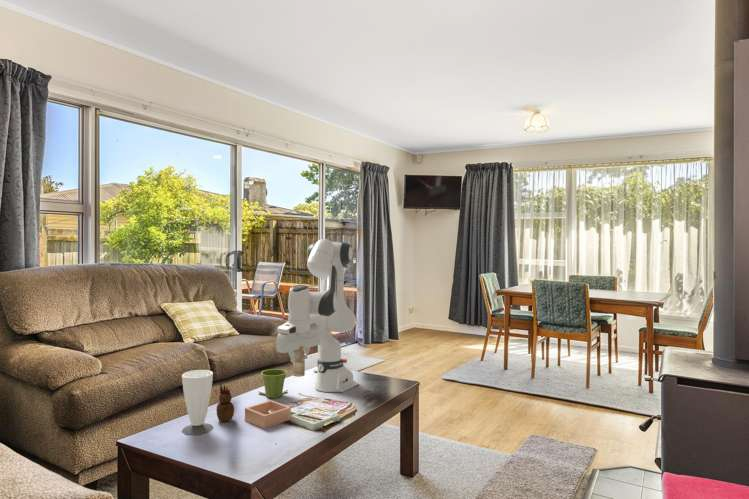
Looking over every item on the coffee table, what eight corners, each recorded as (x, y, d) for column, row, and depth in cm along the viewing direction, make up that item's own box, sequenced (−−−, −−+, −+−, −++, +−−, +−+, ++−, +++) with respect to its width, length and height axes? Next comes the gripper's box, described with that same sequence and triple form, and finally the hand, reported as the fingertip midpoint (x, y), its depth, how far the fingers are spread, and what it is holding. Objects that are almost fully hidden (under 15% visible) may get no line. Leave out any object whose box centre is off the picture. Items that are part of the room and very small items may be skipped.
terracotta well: (271, 411, 210) (271, 400, 210) (290, 419, 202) (290, 407, 202) (244, 420, 201) (244, 408, 201) (264, 428, 192) (264, 416, 192)
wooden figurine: (213, 422, 199) (213, 384, 198) (222, 417, 204) (222, 380, 204) (227, 424, 196) (227, 386, 196) (236, 419, 202) (236, 382, 201)
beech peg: (299, 372, 204) (299, 343, 203) (306, 374, 201) (307, 345, 200) (291, 375, 200) (291, 345, 200) (298, 377, 197) (298, 347, 197)
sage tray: (316, 412, 210) (316, 406, 210) (339, 420, 201) (339, 414, 201) (290, 421, 200) (290, 415, 200) (313, 430, 191) (313, 424, 191)
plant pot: (292, 395, 232) (292, 371, 231) (271, 402, 223) (272, 377, 222) (275, 390, 239) (276, 367, 239) (255, 396, 230) (255, 372, 230)
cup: (175, 432, 188) (174, 375, 187) (196, 421, 199) (196, 368, 198) (199, 437, 184) (199, 379, 183) (219, 426, 194) (219, 371, 194)
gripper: (313, 321, 209) (313, 353, 210) (273, 328, 194) (273, 363, 195) (323, 323, 205) (323, 356, 206) (283, 330, 190) (283, 366, 191)
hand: (299, 360), depth 200 cm, fingers closed on beech peg, 4 cm apart
